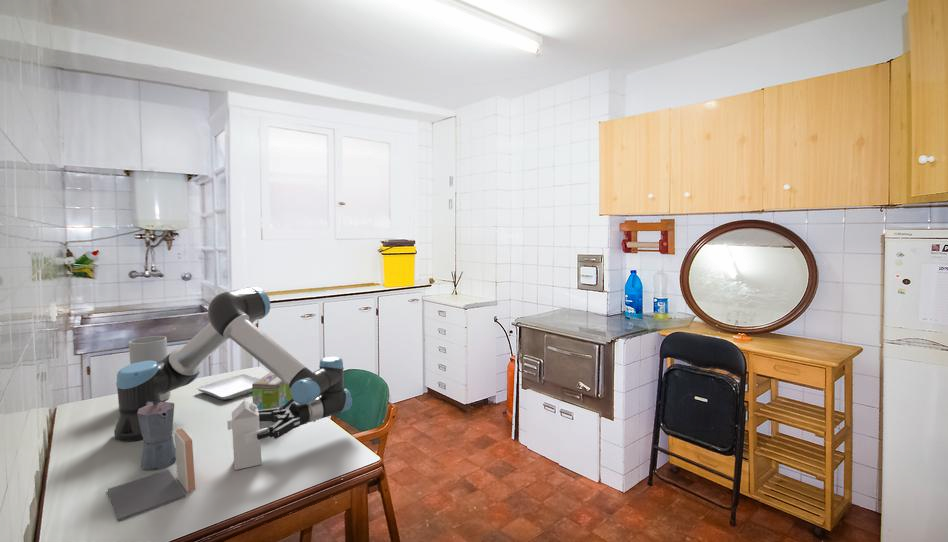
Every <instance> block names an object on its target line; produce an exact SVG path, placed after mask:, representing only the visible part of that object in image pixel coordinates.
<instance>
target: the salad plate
mask: <svg viewBox="0 0 948 542" xmlns="http://www.w3.org/2000/svg"><path fill="white" fill-rule="evenodd" d="M259 379H260V378H259V377H256V376H253V375H249V374H246V373H241V374H238V375H235V376H230V377H227V378H222V379H220V380H216V381H213V382H210V383H206V384H204V385H200V386H197V387H196V390H198V391H199V392H201V393H204V394H207V395H210V396H213V397H215V398H217V399H220V400H222V401H225V400H227V401H228V400H231V399H235V398H238V397H241V396H244V395H246V394H247V393H248V394H251V393H252V384H253V383H255V382H256V381H258V380H259ZM250 392H251V393H250ZM234 397H235V398H234Z"/></svg>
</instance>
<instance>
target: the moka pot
mask: <svg viewBox="0 0 948 542" xmlns="http://www.w3.org/2000/svg"><path fill="white" fill-rule="evenodd" d="M158 401H159V399H154V400H153V401H152V402H149V401H148V400H146V401H145V403H144V407H142V408H140V409H138V413H137V416H138V421H139V425H140V429H141V434H142V437H143V439H142V440H143V443H142V453H141V461H140V467H141V468H142V469H144V470H145V471H155V470H160V469H165V468H167V467H169V466H170V465H172V464H174V463H175V462H176V451H175V440H174V437H173V427H174V413H175V403H174V402H169V401H162V402H159V403H158Z"/></svg>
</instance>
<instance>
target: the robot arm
mask: <svg viewBox="0 0 948 542" xmlns="http://www.w3.org/2000/svg"><path fill="white" fill-rule="evenodd" d="M270 310H271V300H270V297H269V295H268V293H266V291H265V290H264V289H262V288H260V287H256V286H253V287H251V286H248V287H246V288H241V289H236V290H231V291H226V292H225V291H224V292H221V293H219V294H217V295H216V296H215V297H214V298H212V300H210V302H209V304H208V308H207V317H208V321H209V322H208V324H207V325H205V326H204V327H203V328H202V329H201V330H200V331H198V333H197V334H195V335H194V336H193V337H192V338H191V339H190V340H189V341H188V342H187V343H186V344H185V345H184V346H182V347H179V348H175V349H173V350H171V352H170V353H168V356H167V357H166V358H164V359H163V360H161V361H158V362H156V361H141V362H139V363H133V364H128V365H125V366H124V367H122V368H120V369H119V371H117V373H116V383H115V384H116V389H117V390H116V391H117V399H118V411H119V415H118V418H117V421H116V425H115V428H114V433H113V435H114V439H115V440H116V441H118V442H134V441H135V442H136V441H141V440H143V437H142V434H141V429H140V425H139V421H138V416H137V413H138V409H140V408H142V407H144V403H145V401H146V400H148V401H149V402H152V401H153V400H154V399H159V401H158V403H159V402H161V399H160V395H162V394H164V393H167V392H169V391H170V392H171V391H174V390H176V389H179V388H182V387H184V386H188V385H189V384H191V383H193V382H194V381H195V380H197V378H198V377H199V375H200V373H201V371H200V370H201V367H202V363H204V362H205V360H207V359H208V358H209V357H210V356H212V354H214V353H215V352H216V351H217V350H218V349H219V348H220V347H221V346H222V345H224V344H225V343H226V342H227V341H228V340H232V341H233V342H235V344H237V345H238V346H239V347H241V349H243V350H244V351H245V352H246V353H248V354H249V355H250V356H251V357H253V358H254V359H255V360H257V362H258V363H260V364H261V365H263V366H264V367H265V368H266V369H267V370H269V371H270V372H272V373H273V374H274V375H276V376H277V377H278V378H279V379H281V380H282V381H283V382H284V383H285V384H287V385H288V386H289V387H290V388H291V390H290V391H291V396H292V398H293V400H294V401H295V402H294V403H292V404H291V405H290V408H289V409H287V410H285V409H283V407H277V408H271V409H262V410H258V412H259V422H260V421H272V422H276V423H273V425H269V426H268V427H265V428H260V430H257V431H254V432H251V433H247V434H244V444H245V445H246V444H249V443H252V442H255V441H258V440H260V441H261V440H264V439H267V438H273V439H275V440H276V439H279V438H281V437H283V436H284V435H285V434H287V433H288V432H290V431H292V430H293V429H296V428H298V427H300V426H303V425H306V424H308V423H312V422H313V423H315V422H316V421H319V420H321V419H322V420H323V419H324V418H327V417H330V416H334V415H339V414H341V413H343V412H346V411H348V410H349V409H351V408H352V404H353V398H352V394H351V392H350V391H349V389H347V388H344V387H345V384H344V382H345V381H344V377H345V376H344V369H345V368H344V361H343V359H342V357H340V356H326V357H323V358H321V359H320V361H319V366H318V367H319V369H316V370H314V371H311V370H310V369H309V368H308V367H307V366H305V365H304V364H303V363H302V362H300V361H299V360H298V359H297V358H296V357H294V356H293V355H292V354H291V353H290V352H288V351H287V350H286V349H285V348H283V347H282V346H281V345H280V344H279V343H278V342H276V341H275V340H273V339H272V338H271V337H270V336H269V335H267V334H266V332H264V331H262V329H260V328H259V327H258V326H256V324H254V322H256V321H257V320H263V319H264V318H265V317H267V316H268V314H269V313H270ZM226 421H227V430H228V431H231V430H232V418H230V419H228V420H226Z"/></svg>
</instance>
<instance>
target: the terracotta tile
mask: <svg viewBox="0 0 948 542" xmlns="http://www.w3.org/2000/svg"><path fill="white" fill-rule="evenodd" d="M173 436H174V437H173V438H174V445H175V451H176V461H175V462H176V463H175V464H176V475H177V476H176V477H177V478H176V479H177V480H178V481H179V483H180V484H181V485H182V487H183V489H184V490H185V492H188V493H190V492H193V491H195V490H196V478H195V464H194V463H195V461H194V448H193V447H194V446H193V439H192V438H191V437H190V435H189V434H188V433H187V432H186V431H185V430H184V428H182V427H181V428H178V429H175V430H174V431H173Z"/></svg>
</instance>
